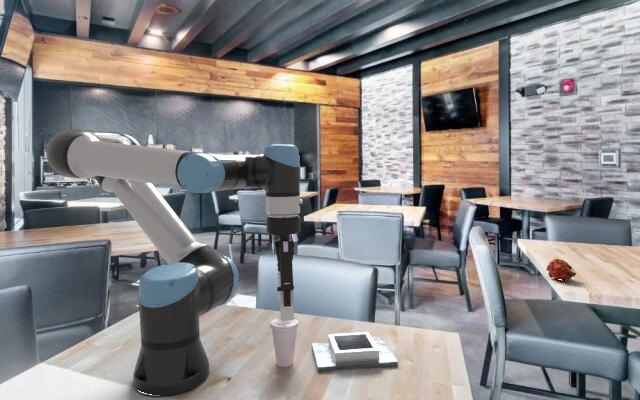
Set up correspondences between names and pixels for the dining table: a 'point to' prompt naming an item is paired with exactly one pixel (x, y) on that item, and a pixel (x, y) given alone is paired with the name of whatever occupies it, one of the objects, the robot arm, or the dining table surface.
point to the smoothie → (284, 340)
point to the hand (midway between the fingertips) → (285, 309)
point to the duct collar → (352, 352)
